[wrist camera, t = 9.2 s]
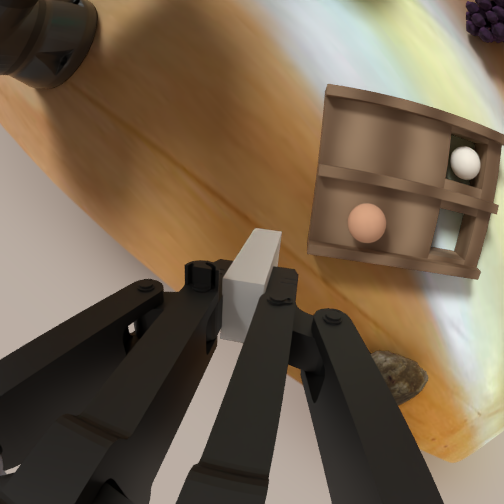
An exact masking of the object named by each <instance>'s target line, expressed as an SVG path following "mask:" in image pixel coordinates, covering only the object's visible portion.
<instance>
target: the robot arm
mask: <svg viewBox="0 0 504 504" xmlns="http://www.w3.org/2000/svg"><path fill="white" fill-rule="evenodd" d="M96 25H97V14H96V10H95V7H94V5H93V4H92V3H91V2H90V1H88V0H0V75H9V76H11V77H13V78H15V79H17V80H19V81H21V82H23V83H25V84H26V85H28V86H30V87H33V88H41V89H50V88H54V87H56V86H58V85H60V84H61V83H63V82H64V81H65V80H67V79H68V78H69V77H70V76H71V75H72V74H73V73H74V72H75V70H76V69H77V68H78V67H79V65H80V64H81V62H82V61H83V59H84V57H85V56H86V54H87V52H88V50H89V48H90V46H91V43H92V41H93V38H94V34H95V30H96ZM281 234H282V232H281V231H274V230H267V229H259V228H255V229H254V230H253V232H252V233H251V235H250V236H249V238H248V240H247V241H246V243H245V244H244V246H243V247H242V249H241V250H240V252H239V253H238V255H237V257H236V258H235V260H234V261H230V260H223V259H220V260H217V261H215V262H209V261H201V260H200V261H192V262H189V263H187V264H185V285H184V287H183V288H182V289H181V290H180V291H179V292H164V291H163V290H164V289H163V285H162V283H160V282H159V281H156V280H152V279H144V280H139V281H136V282H134V283H132V284H130V285H128V286H127V287H125V288H123V289H121V290H119V291H118V292H116V293H114V294H113V295H110V296H109V297H107V298H105V299H103V300H101V301H100V302H98V303H96V304H94V305H93V306H91V307H89V308H87V309H85V310H84V311H82V312H80V313H78V314H77V315H75V316H73V317H71V318H70V319H68V320H66V321H65V322H63V323H61V324H59V325H58V326H56V327H54V328H53V329H51V330H49V331H47V332H46V333H44V334H42V335H41V336H39V337H37V338H36V339H34V340H32V341H31V342H29V343H27V344H25V345H24V346H22V347H20V348H19V349H17V350H16V351H14V352H12V353H11V354H9V355H7V356H6V357H4V358H3V359H1V360H0V504H149V501H150V494H151V486H152V483H153V481H154V479H155V477H156V475H157V472H158V470H159V468H160V466H161V464H162V462H163V460H164V458H165V455H166V453H167V451H168V449H169V447H170V445H171V443H172V440H173V439H174V436H175V434H176V432H177V430H178V428H179V426H180V424H181V422H182V420H183V417H184V415H185V413H186V411H187V409H188V407H189V405H190V403H191V400H192V398H193V396H194V394H195V392H196V390H197V388H198V385H199V383H200V381H201V379H202V377H203V375H204V372H205V370H206V368H207V366H208V364H209V362H210V360H211V357H212V355H213V353H214V351H215V349H216V347H217V335H218V333H219V331H220V329H221V336H220V338H221V339H226V340H230V341H235V342H241V343H243V346H242V349H241V352H240V355H239V357H238V360H237V363H236V366H235V369H234V371H233V374H232V377H231V379H230V382H229V385H228V388H227V391H226V393H225V396H224V399H223V401H222V404H221V407H220V409H219V412H218V415H217V418H216V420H215V423H214V425H213V428H212V431H211V433H210V436H209V439H208V441H207V444H206V447H205V449H204V452H203V455H202V457H201V459H200V461H199V463H198V464H195V465H193V467H192V468H191V470H190V471H189V473H188V476H187V478H186V480H185V483H184V485H183V487H182V490H181V492H180V494H179V497H178V500H177V502H176V504H265V500H266V495H267V490H268V484H269V479H268V478H269V472H270V467H271V462H272V457H273V451H274V446H275V441H276V435H277V429H278V424H279V418H280V412H281V406H282V400H283V394H284V386H285V381H286V374H287V367H288V365H291V366H293V367H296V368H299V369H301V378H302V382H303V386H304V390H305V394H306V398H307V402H308V406H309V410H310V413H311V418H312V422H313V426H314V430H315V434H316V438H317V442H318V447H319V451H320V455H321V459H322V463H323V467H324V471H325V475H326V480H327V484H328V488H329V493H330V497H331V501H332V504H444V503H443V500H442V498H441V496H440V493H439V491H438V489H437V487H436V484H435V482H434V480H433V477H432V475H431V473H430V471H429V469H428V467H427V464H426V462H425V460H424V458H423V456H422V454H421V452H420V449H419V447H418V445H417V443H416V441H415V439H414V437H413V435H412V433H411V431H410V429H409V427H408V425H407V423H406V421H405V419H404V417H403V415H402V413H401V411H400V409H399V407H398V405H397V403H396V401H395V399H394V397H393V395H392V393H391V391H390V390H389V388H388V386H387V384H386V382H385V380H384V378H383V376H382V374H381V373H380V371H379V369H378V367H377V365H376V363H375V361H374V360H373V358H372V356H371V354H370V352H369V351H368V349H367V347H366V345H365V343H364V342H363V340H362V338H361V336H360V334H359V333H358V331H357V329H356V327H355V326H354V324H353V322H352V320H351V319H350V318H349V316H348V315H347V314H345V313H343V312H342V311H340V310H337V309H329V308H327V309H320V310H318V311H316V313H315V314H314V316H313V315H310V314H308V313H305V312H303V311H302V310H300V309H299V308H298V307H297V305H296V302H295V301H296V292H297V283H298V274H297V272H296V271H295V269H289V268H282V267H278V259H279V250H280V242H281ZM133 322H134V327H135V331H134V332H132V333H129V329H128V326H129V325H130V324H131V323H133ZM20 464H21V465H20ZM18 465H20V466H19V468H18V469H17V471H16V472H15V473H11V474H6V473H5V470H8V469H11V468H14V467H16V466H18Z"/></svg>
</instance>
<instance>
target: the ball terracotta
mask: <svg viewBox="0 0 504 504" xmlns="http://www.w3.org/2000/svg"><path fill="white" fill-rule="evenodd" d="M348 228H349V231H350V233H351V235H352V236H353V237H354V238H355V239H356V240H358V241H360V242H363V243H372V242H375V241H377V240H378V239H380V238H381V237H382V235H383V234H384V232H385V229H386V218H385V215H384V213H383V212H382V210H381V209H380V208H379V207H377V206H375V205H373V204H370V203H364V204H360V205H358V206H356V207H355V208H354V209H353V210H352V211H351V213H350V215H349V218H348Z"/></svg>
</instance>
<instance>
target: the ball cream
mask: <svg viewBox="0 0 504 504" xmlns="http://www.w3.org/2000/svg"><path fill="white" fill-rule="evenodd" d="M450 165H451V168H452V170H453V172H454V173H455V175H457V176H458V177H459V178H461V179H464V180H470V179H473V178H474V177H476V176H477V174H478V173H479V170H480V159H479V157H478V155H477V153H476V152H475V151H474V150H473V149H472V148H470V147H467V146H460V147H458V148H456V149H455V150H454V151H453V152H452V154H451V157H450Z"/></svg>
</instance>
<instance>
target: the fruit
mask: <svg viewBox="0 0 504 504" xmlns="http://www.w3.org/2000/svg"><path fill="white" fill-rule="evenodd" d="M475 1H476V3H474V2H469V1H467V3H466V8H467V10H468V12H466V20H468V21H466V30H467V31H468V32H469V33H470V34H472V35H474V36H479V37H480V38H481V40H482V41H484V42H488V43H489V42H493V41H495V42H497V43H499V42H502V41H503V42H504V0H475Z"/></svg>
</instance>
